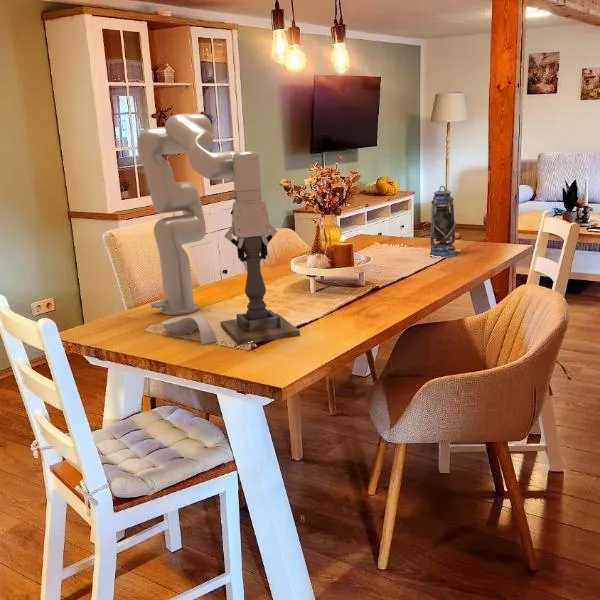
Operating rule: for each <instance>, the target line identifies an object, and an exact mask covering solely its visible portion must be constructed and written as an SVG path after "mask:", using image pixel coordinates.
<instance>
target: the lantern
mask: <svg viewBox="0 0 600 600" xmlns="http://www.w3.org/2000/svg"><path fill="white" fill-rule="evenodd" d="M442 188H443V190H442ZM451 193H452V191H450V190H447V189H446V186H445V185H440V186H439V190H435V192H433V194H434V196H433V198H432V200H431V208H430V209H431V212H430V213H431V214H430V215H431V217H430V223H429V224H430V252H429V254H430V255H434V256H441V257H445V258H444V259H448V258H454V257H457V256H458V253H457V251H456V246H455V245H454V244H455V242H456V228H455V226H456V221H455V212H454V210H455V209H454V198H453V196H451ZM435 242H437V243H435Z"/></svg>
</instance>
